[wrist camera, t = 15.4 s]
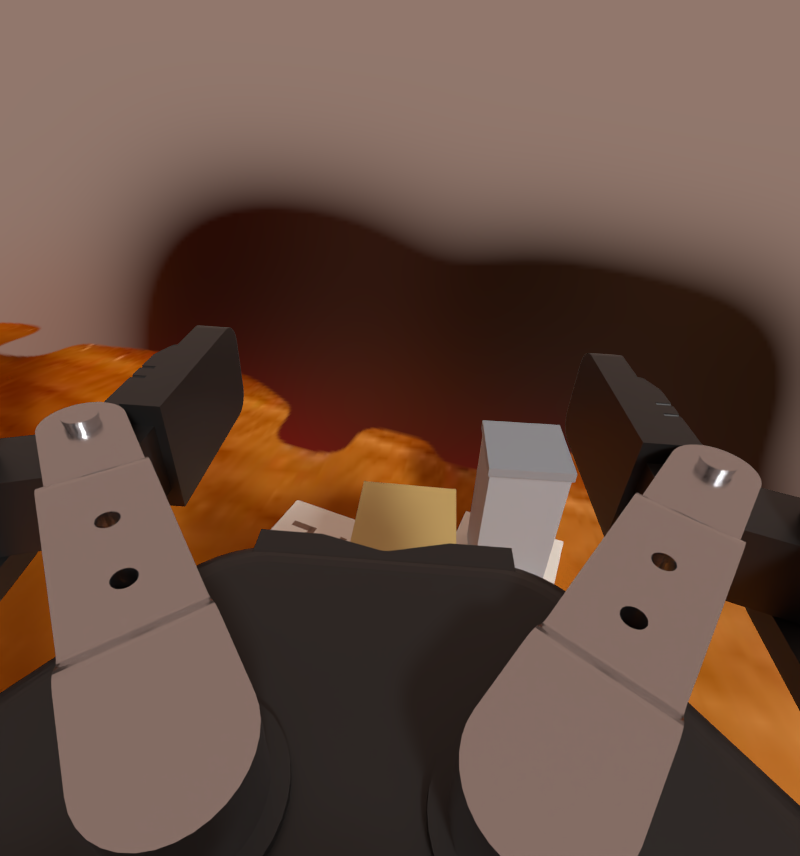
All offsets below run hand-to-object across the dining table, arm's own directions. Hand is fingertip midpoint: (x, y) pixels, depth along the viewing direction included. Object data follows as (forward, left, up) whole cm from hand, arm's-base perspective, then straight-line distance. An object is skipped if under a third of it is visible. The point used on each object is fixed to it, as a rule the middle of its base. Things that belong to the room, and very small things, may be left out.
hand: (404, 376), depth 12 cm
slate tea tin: (+1, +21, -27) cm, 34 cm away
